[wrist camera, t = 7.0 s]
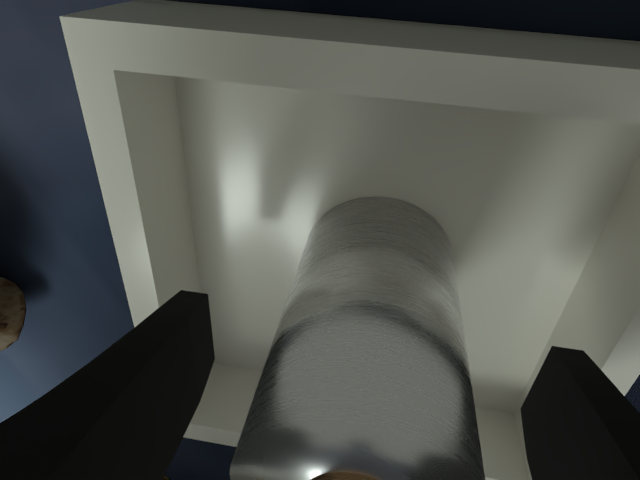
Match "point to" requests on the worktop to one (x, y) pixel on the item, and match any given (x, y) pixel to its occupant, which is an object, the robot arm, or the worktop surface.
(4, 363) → the worktop surface
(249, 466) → the cylinder
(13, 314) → the mushroom
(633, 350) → the dish
